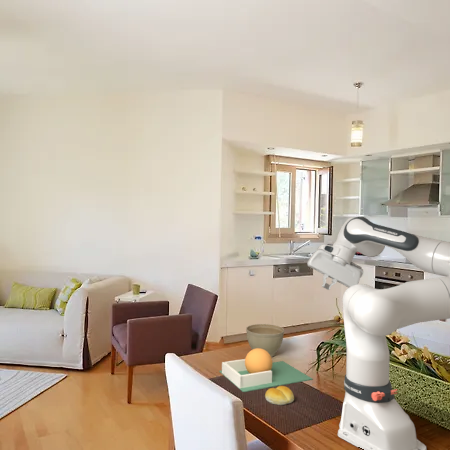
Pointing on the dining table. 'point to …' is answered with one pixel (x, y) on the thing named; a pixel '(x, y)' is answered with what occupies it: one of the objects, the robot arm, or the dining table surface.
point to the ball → (258, 361)
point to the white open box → (242, 381)
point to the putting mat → (278, 376)
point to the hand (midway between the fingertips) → (325, 288)
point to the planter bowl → (265, 337)
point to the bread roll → (279, 395)
